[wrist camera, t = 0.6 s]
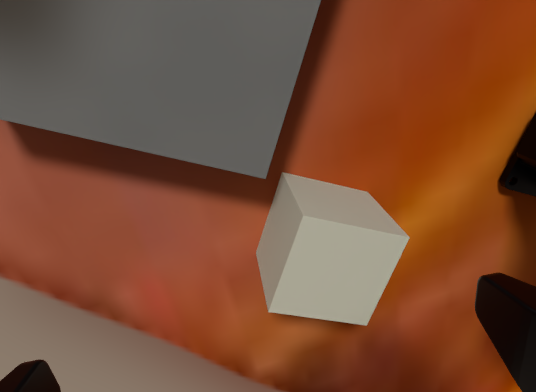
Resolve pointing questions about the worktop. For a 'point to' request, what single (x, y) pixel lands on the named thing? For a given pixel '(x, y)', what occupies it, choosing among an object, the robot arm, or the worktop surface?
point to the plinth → (157, 73)
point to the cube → (326, 251)
